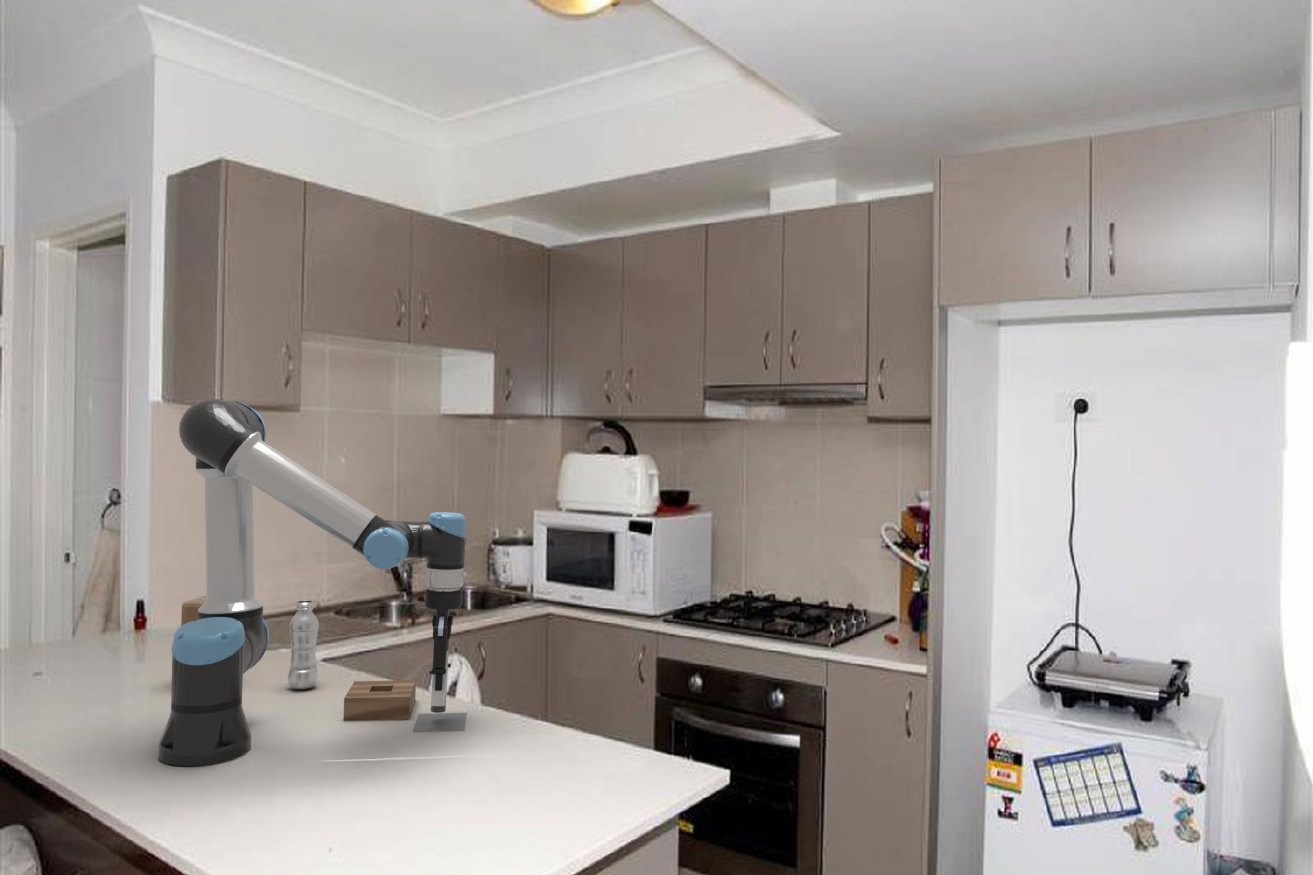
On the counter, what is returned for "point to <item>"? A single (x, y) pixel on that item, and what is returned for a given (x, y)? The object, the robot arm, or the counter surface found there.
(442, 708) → the steel pin
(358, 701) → the walnut socket block
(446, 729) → the rubber mat
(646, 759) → the counter surface
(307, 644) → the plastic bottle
